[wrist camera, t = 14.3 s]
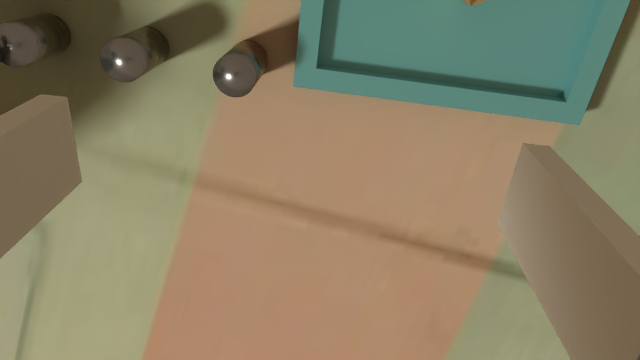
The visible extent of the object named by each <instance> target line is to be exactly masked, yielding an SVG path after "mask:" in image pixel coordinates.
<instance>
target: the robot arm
mask: <svg viewBox="0 0 640 360" xmlns="http://www.w3.org/2000/svg"><path fill="white" fill-rule="evenodd" d="M81 182H82V178H81V173H80V167H79V161H78V155H77V149H76V143H75V138H74V132H73V126H72V120H71V114H70V108H69V103H68V97H63V96H53V95H43V94H40V95H38V96H36V97H35V98H33V99H31V100H29V101H27V102H25V103H23V104H21V105H19V106H17V107H15V108H13V109H12V110H10V111H8V112H6V113H4V114H2V115H0V258H1V257H2V256H3V255H5V254H6V253H7V252H8V251H9V250H10V249H11V248H12V247H13V246H14V245H15V244H16V243H17V242H18V241H19V240H20V239H22V238H23V237H24V236H25V235H26V234H27V233H28V232H29V231H30V230H31V229H32V228H33V227H34V226H35V225H36V224H37V223H39V222H40V221H41V220H42V219H43V218H44V217H45V216H46V215H47V214H48V213H49V212H50V211H51V210H52V209H53V208H55V207H56V206H57V205H58V204H59V203H60V202H61V201H62V200H63V199H64V198H65V197H66V196H67V195H68V194H69V193H70V192H72V191H73V190H74V189H75V188H76V187H77V186H78V185H79V184H80V183H81ZM497 224H498V226H499V228H500V230H501V232H502V234H503V235H504V237H505V239H506V241H507V243H508V245H509V246H510V248H511V250H512V252H513V254H514V256H515V258H516V259H517V261H518V263H519V265H520V267H521V269H522V270H523V272H524V274H525V276H526V278H527V280H528V281H529V283H530V285H531V287H532V289H533V291H534V292H535V294H536V296H537V298H538V300H539V302H540V304H541V305H542V307H543V309H544V311H545V313H546V315H547V316H548V318H549V320H550V322H551V324H552V326H553V327H554V329H555V331H556V333H557V335H558V337H559V338H560V340H561V342H562V344H563V346H564V348H565V350H566V351H567V353H568V355H569V357H570V359H571V360H640V236H639V235H638V234H637V233H636V232H635V231H634V230H633V229H632V228H631V227H630V226H629V225H628V224H627V223H626V222H625V221H624V220H623V219H622V218H621V217H620V216H619V215H618V214H617V213H616V212H615V211H614V210H613V209H612V208H611V207H610V206H609V205H608V204H607V203H606V202H605V201H604V200H603V199H602V198H601V197H600V196H599V195H598V194H597V193H596V192H595V191H594V190H593V189H592V188H591V187H590V186H589V185H588V184H587V183H586V182H585V181H584V180H583V179H582V178H581V177H580V176H579V175H578V174H577V173H576V172H575V171H574V170H573V169H572V168H571V167H570V166H569V165H568V164H567V163H566V162H565V161H564V160H563V159H562V158H561V157H560V156H559V155H558V154H557V153H556V152H555V151H554V150H553V149H552V148H551V147H550V146H545V145H535V144H525V143H523V145H522V148H521V151H520V154H519V157H518V160H517V163H516V166H515V169H514V172H513V175H512V178H511V182H510V185H509V188H508V191H507V194H506V197H505V200H504V203H503V206H502V209H501V212H500V215H499V218H498V221H497Z"/></svg>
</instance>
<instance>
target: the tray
mask: <svg viewBox="0 0 640 360" xmlns="http://www.w3.org/2000/svg"><path fill="white" fill-rule="evenodd" d="M630 1H631V0H486V1H483V2H481V3H478V4H476V5H474V6H469V5H468V4H466V3H464V2H463V1H461V0H301V8H300V19H299V30H298V41H297V52H296V63H295V74H294V85H293V86H295V87H302V88H309V89H317V90H324V91H332V92H339V93H346V94H354V95H361V96H368V97H376V98H383V99H391V100H398V101H405V102H413V103H420V104H427V105H435V106H442V107H450V108H457V109H464V110H472V111H479V112H486V113H494V114H501V115H509V116H516V117H523V118H531V119H538V120H545V121H553V122H560V123H567V124H575V125H580V123H581V120H582V118H583V116H584V113H585V111H586V108H587V106H588V103H589V101H590V98H591V96H592V94H593V91H594V89H595V86H596V84H597V81H598V79H599V76H600V74H601V72H602V69H603V67H604V64H605V62H606V59H607V57H608V54H609V52H610V50H611V47H612V45H613V42H614V40H615V37H616V35H617V32H618V30H619V27H620V25H621V23H622V20H623V18H624V15H625V13H626V10H627V8H628V5H629V3H630Z"/></svg>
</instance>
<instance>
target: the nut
mask: <svg viewBox="0 0 640 360" xmlns="http://www.w3.org/2000/svg"><path fill="white" fill-rule="evenodd" d="M461 1H463V2H464V3H466V4H468V5H469V6H474V5H476V4H478V3H481V2H483V1H486V0H461Z"/></svg>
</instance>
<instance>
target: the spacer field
mask: <svg viewBox="0 0 640 360" xmlns="http://www.w3.org/2000/svg"><path fill="white" fill-rule="evenodd" d="M69 43H70V34H69V31H68V28H67V27H66V25H65V24H64V22H63V21H62V20H61V19H59V18H58V17H56V16H54V15H52V14H40V15H36V16H32V17H28V18H23V19H19V20H15V21H11V22H7V23H2V24H0V61H1V62H2V63H4V64H6V65H8V66H11V67H22V66H25V65H27V64H30V63H32V62H35V61H38V60H40V59H43V58H46V57H48V56H51V55H53V54H56V53H59V52H61V51H64V50H65V49H66V48H67V47H68V45H69ZM167 56H168V44H167V41H166V39H165V37H164V36H163V35H162V34H161V33H160V32H159V31H157V30H156V29H154V28H150V27H143V28H140V29H137V30H135V31H132V32H130V33H128V34H125V35H123V36H120V37H118V38H115V39H113V40H111V41H108V42H107V43H106V44H105V45H104V46H103V48H102V50H101V54H100V58H101V63H102V66H103V68H104V69H105V71H106V72H107V73H108V74H109V75H110V76H111V77H112V78H114V79H115V80H118V81H120V82H131V81H134V80H136V79H137V78H139V77H140V76H142V75H144V74H145V73H147V72H148V71H150V70H152V69H153V68H155V67H156V66H158V65H159V64H161V63H162V62H164V61H165V59H166V58H167ZM267 63H268V59H267V55H266V52H265V51H264V49H263V48H262V47H261V46H260V45H259V44H257V43H255V42H253V41H242V42H240V43H238V44H236V45H235V46H234V47H233V48H232V49H231V50H230V51H228V52H227V53H226V54H225V55H224V56H223V57H221V58H220V59H219V60H218V61H217V63H216V64H215V66H214V69H213V79H214V82H215V84H216V86H217V87H218V89H219V90H220V91H221V92H223V93H224V94H226V95H228V96H231V97H242V96H245V95H246V94H248V93H249V92H250V91H251V90H252V88H253V87H254V86H255V84H256V83H257V81H258V80H259V79H260V77H261V76H262V74H263V73H264V71H265V70H266V68H267Z"/></svg>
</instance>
